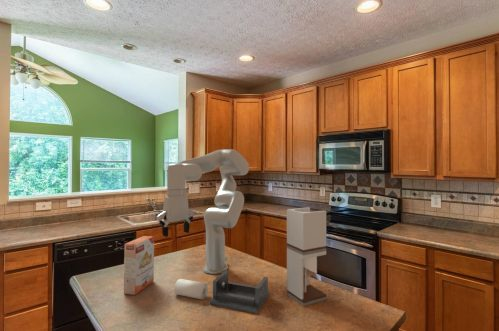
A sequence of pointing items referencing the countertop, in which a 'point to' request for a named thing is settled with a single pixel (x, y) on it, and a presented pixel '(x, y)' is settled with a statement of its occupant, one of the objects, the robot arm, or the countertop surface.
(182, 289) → the kitchen roll
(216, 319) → the countertop surface
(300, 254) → the white stand
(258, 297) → the roll holder
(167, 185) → the robot arm
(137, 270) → the cracker box
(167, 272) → the countertop surface
